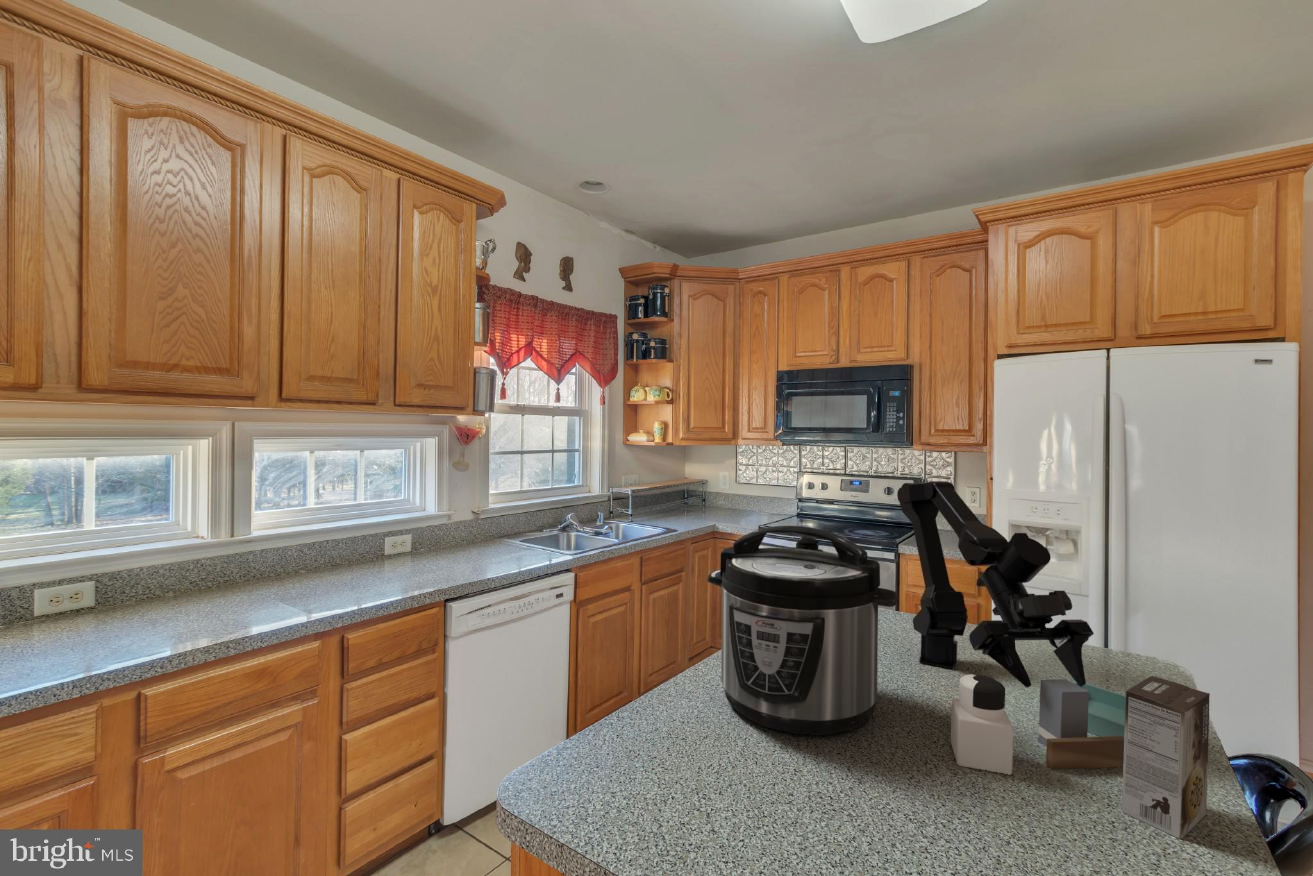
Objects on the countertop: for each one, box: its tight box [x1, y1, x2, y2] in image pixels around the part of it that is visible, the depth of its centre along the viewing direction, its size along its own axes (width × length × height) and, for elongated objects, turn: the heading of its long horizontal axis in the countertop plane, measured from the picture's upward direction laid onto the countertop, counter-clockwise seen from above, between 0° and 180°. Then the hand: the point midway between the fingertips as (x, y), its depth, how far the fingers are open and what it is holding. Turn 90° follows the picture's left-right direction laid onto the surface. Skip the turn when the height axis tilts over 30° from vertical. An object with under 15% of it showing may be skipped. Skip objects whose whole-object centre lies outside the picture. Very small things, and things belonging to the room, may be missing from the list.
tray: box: [1070, 679, 1126, 737], centre depth 102 cm, size 14×14×3 cm
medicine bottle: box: [950, 673, 1014, 776], centre depth 89 cm, size 7×7×12 cm
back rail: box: [1045, 736, 1124, 770], centre depth 88 cm, size 1×12×4 cm, turn 96°
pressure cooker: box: [706, 525, 899, 736], centre depth 106 cm, size 30×28×32 cm
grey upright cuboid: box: [1037, 678, 1089, 748], centre depth 92 cm, size 4×4×10 cm
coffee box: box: [1121, 675, 1211, 840], centre depth 77 cm, size 9×6×16 cm
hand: (1056, 685), depth 94 cm, fingers open, 9 cm apart
